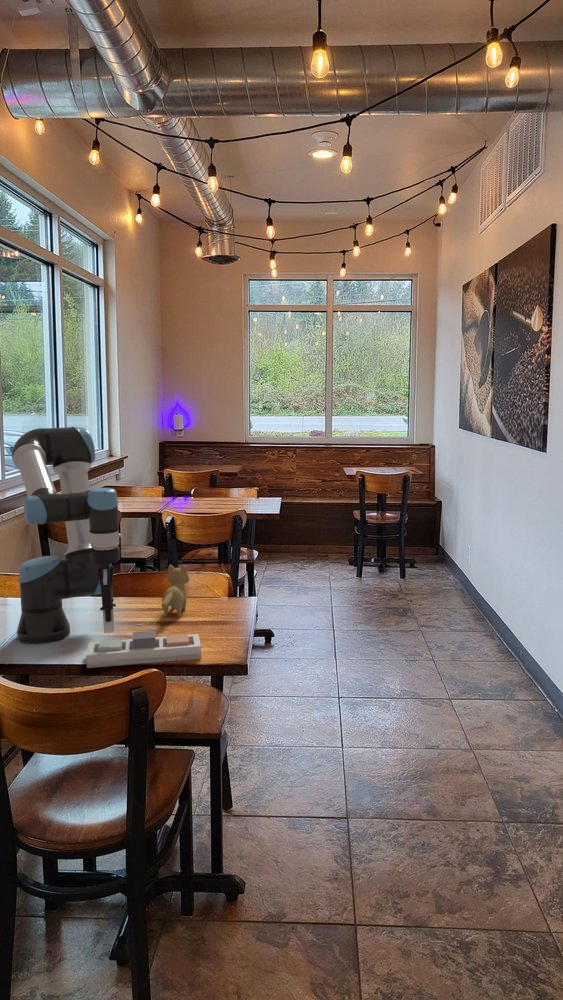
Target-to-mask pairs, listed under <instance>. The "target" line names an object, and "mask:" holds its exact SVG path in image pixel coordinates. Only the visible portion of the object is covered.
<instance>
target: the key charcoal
mask: <svg viewBox="0 0 563 1000" xmlns="http://www.w3.org/2000/svg"><path fill="white" fill-rule="evenodd" d="M132 636H133V637H132V639H133V648H138V647H151V646H156V641H155V637H156V629H152V630H144V631H143V630H142V631H133V632H132Z"/></svg>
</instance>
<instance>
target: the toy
mask: <svg viewBox="0 0 563 1000" xmlns="http://www.w3.org/2000/svg"><path fill="white" fill-rule="evenodd" d="M168 571H169V572H168V574H167V582H168V583H170V584H171V585H170V587H168V588H167V589H166V590H165V591H164V594H163V596H162V599H161V608H162V609H163V615H164V617H165V618H166V617H168V616H169V613H168V610H169V607H170V608H171V610H176V614H177V615H176V616H177V618H180V617H182V610H186V608H187V590H186V589H185V585H187V583H188V582H190V575H189V574H188V567H187V565H186V564H183V565H182V566H181V567H175V566H173V564H169V565H168Z"/></svg>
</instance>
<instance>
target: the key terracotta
mask: <svg viewBox="0 0 563 1000" xmlns="http://www.w3.org/2000/svg"><path fill="white" fill-rule="evenodd" d="M188 635H189V634H188V633H183V634H173V635H172V634H171V635H170V634H167V635H165V636H166V641H167V647H171V646H183V645H189V637H188Z"/></svg>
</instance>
